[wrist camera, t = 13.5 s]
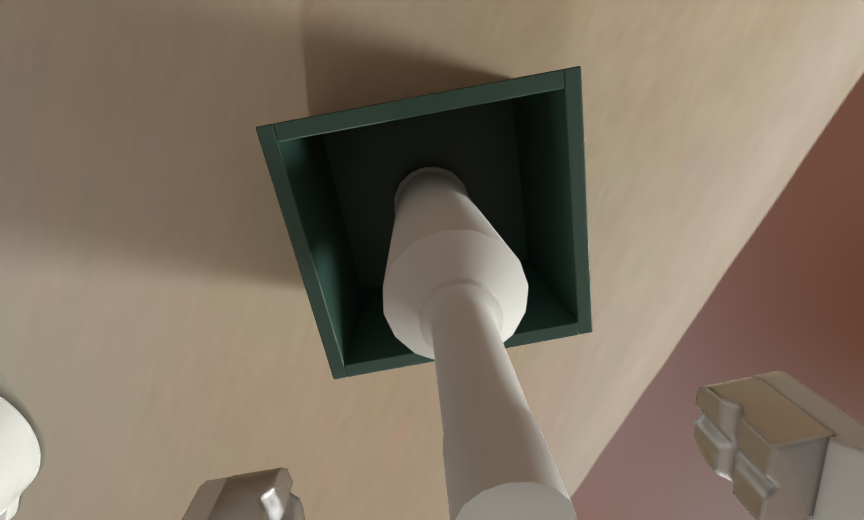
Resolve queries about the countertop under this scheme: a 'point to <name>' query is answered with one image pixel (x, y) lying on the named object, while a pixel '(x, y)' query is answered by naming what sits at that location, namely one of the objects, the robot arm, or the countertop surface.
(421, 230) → the bottle
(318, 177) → the bin
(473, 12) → the countertop surface
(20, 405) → the countertop surface
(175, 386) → the countertop surface
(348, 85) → the countertop surface
